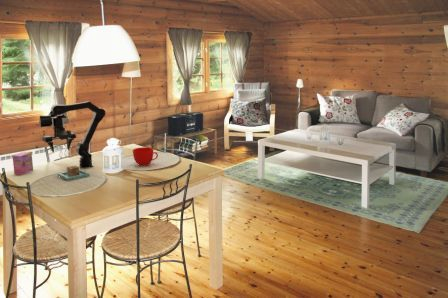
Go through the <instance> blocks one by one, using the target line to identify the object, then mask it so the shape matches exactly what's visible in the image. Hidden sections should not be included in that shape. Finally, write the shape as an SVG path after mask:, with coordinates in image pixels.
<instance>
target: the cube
mask: <svg viewBox="0 0 448 298" xmlns="http://www.w3.org/2000/svg"><path fill="white" fill-rule="evenodd" d="M79 169H80V166H77V165H72V166H71V165H70V166H67V167H66V172H67V173H68V176H70V177H72V176H77V175H80V172H79Z"/></svg>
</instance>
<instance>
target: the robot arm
mask: <svg viewBox="0 0 448 298" xmlns="http://www.w3.org/2000/svg"><path fill="white" fill-rule="evenodd" d="M50 109H51V111H50V112H49V113H48V115H39V119H38V120H39V121H38V122H39V127H40V128H48V127H51V126H52V129H53V136H51V135H44V136H42V138H41V139H42V142H44V143H47V145H48V146H49V148H50V150H51V152H52V153H55V149H54V141H53V140H61V141H63V140H66V142H65V143H66V148H67V151H69V150H70V149H71V144H72V141H74V140H75V139H77V134H76V133H75V132H72V130H71V129H69V130H66V128H65V126H64V119H66V118H67V116H66V115H65V114H66V113H68V112H72V111H79V110H84V109H89V110H90V111H91V112H92V116H91V117H92V118H91V122H90V123H89V126H88V129H87V130H86V133H85V134H84V137H83V138H82V141H81V142H80V141H78V142H77V145H76V146H75V151H76V154H78V156H80V157H79V162H78V163H79V168H81V169H88V168H92V167H94V165H93V160H92V156H93V155H92V154H91V153H90V152H89V149H90V143H91V141H92V138H93V136H94V135H95V133H96V130H97V127H98V126H99V124H100V122H101V121H103V119H104V117H105V116H106V110H105V109H103V108H102V107H98V106H97V105H95V104H94V103H92V102H91V101H89V100H86V101H81V102H76V103H75V102H74V103H71V104H54V105H52V106H51V108H50Z"/></svg>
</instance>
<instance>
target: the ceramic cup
mask: <svg viewBox="0 0 448 298" xmlns="http://www.w3.org/2000/svg"><path fill="white" fill-rule="evenodd" d="M132 154H133V155H132V156H133V158H134V159H133V160H134V162H135V163H136V164H137V165H138V164H139V165H147V166H149V165H150V164H151V162H152V161H156V160H157V159H158V157H159V154H158V152H156V151H154V148H153V147H145V146H144V147H135V148H134V149H132ZM154 154H155V155H156V156H155V158H153V157H154ZM148 164H149V165H148ZM139 165H138V166H139Z"/></svg>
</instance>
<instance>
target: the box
mask: <svg viewBox="0 0 448 298" xmlns="http://www.w3.org/2000/svg"><path fill="white" fill-rule="evenodd" d="M32 153H33V152H32V151H21V152H20V153H16V154H13V155H12V163H13V164H12V166H13V172H14V176H15V175H16V176H24V175H26V174H28V173H30V172H33V171H34V165H33V154H32Z"/></svg>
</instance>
